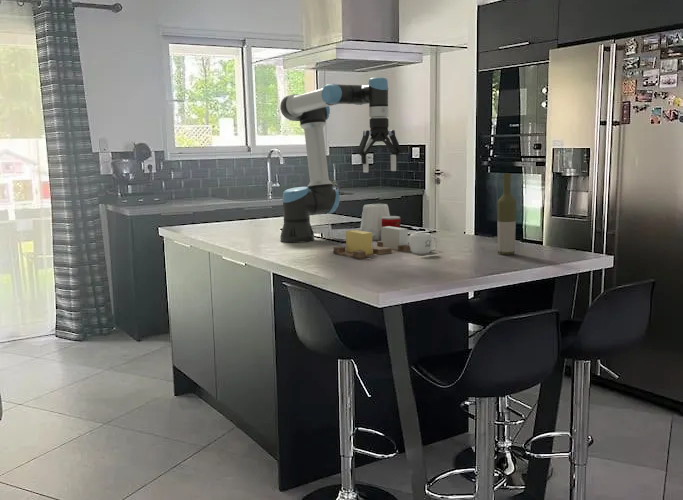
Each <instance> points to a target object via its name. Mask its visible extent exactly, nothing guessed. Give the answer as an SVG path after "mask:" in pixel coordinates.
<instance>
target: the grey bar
mask: <svg viewBox="0 0 683 500" xmlns="http://www.w3.org/2000/svg"><path fill="white" fill-rule="evenodd" d="M408 232H409V231H408V228H403V227H401V228H398V227H392V226H386V227H381V240H380V241H381V242H383V247H389V248H392V249H396V250H398V248H399V249H400V247H398V245H399V246H400V245H409V244H408V243H409V241H408V240H409V237H408Z"/></svg>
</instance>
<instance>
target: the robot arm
mask: <svg viewBox="0 0 683 500" xmlns="http://www.w3.org/2000/svg"><path fill="white" fill-rule="evenodd" d="M368 104H369V105H368ZM335 105H357V106H359V105H360V106H362V105H368V107H369V109H368V112H369V114H368V115H369V118H370V119H369V128H370V130H367V129H366V130H363V135H362V138H361V141H360V143H359V146H358V148H357V150H356V154H357V155H359V156H360V159H361V160H360V161H361V165H362V169H363V170H362V172H363V173H369V172H370V171H369V155H368V153H369V152H370V150H371V148H372V147H373V145H374V144H375V143H377V142H379V143H381V142H383V143H384V144H385V146H386V147H387V148H388V150H389V152H390V153H391V154H390V172H396V171H397V163H398V155H400V153H402V148H401V147H400V144H399V141H398V139H397V136H396V131H395V129H389V125H390V123H389V118H388V117H389V84H388V79H387V78H386V77H371V78H369V79H368V83H367V84H337V83H331V84H330V83H329V84H328V83H327V84H326V85H324V87H322V88H320V89H316V90H313V91H308V92H306V93H302V94H297V93H296V94H295V93H293V94H289V95H286V96H285V97H283V98H282V100H281V102H280V104H279V106H280V107H279V108H280V112H281V114H282V116H283V117H284V118H285V119H287V120H289V121H293V122H299V125H300V127H301V129H303V131H304V138H305V139H304V140H305V147H306V148H305V150H306V156H307V165H308V174H309V183H308V185H307V186H298V187H292V188H288V189H285V190H284V191H283V192H282V212H283V225H282V229H281V233H280V242H284V243H306V242H311V241H314V240H315V233H314V230H313V227H312V224H311V221H310V220H311V217H310V216H317V215H318V216H319V215H329V214H333V213H334V212H335V211H336V210H337V209H338V207H339V204H340V199H341V197H340V193H339V191H338V189H337V188H335V187H334V185H333V182H332V181H331V180H330V178H329V170H328V169H329V168H328V161H327V159H328V158H327V153H326V143H325V136H324V135H325V133H324V127H325V125H326V124H327V120H328V119H329V117H330V114H331V109H330V107H331V106H335ZM369 137H370V138H369Z"/></svg>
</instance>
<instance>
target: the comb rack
mask: <svg viewBox="0 0 683 500" xmlns="http://www.w3.org/2000/svg"><path fill="white" fill-rule="evenodd" d="M376 241H377V243H376V245H372V254H367V255H366V251H361V250H357V251H353V252H348V251H346V246H341V245H339V246H338V245H337V246H333V249H332V250H333V251H332V252H333V254H335V255H340V256H343V257H348V258H352V259H357V260H365V259H371V257H372V256H379V255H386V254H387V255H388V254H392V253H393V254H394V253H401V252H408V251H410V252H411V249H410V245H409V244H408V245H400V246H399V245H398V247H400V249H399V248H398V250H396V249H392V248H389V247H383V242H381V240H376Z"/></svg>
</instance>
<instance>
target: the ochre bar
mask: <svg viewBox="0 0 683 500" xmlns="http://www.w3.org/2000/svg"><path fill="white" fill-rule="evenodd" d="M345 241H346V243H345V245H346V246H345V250H346V251H348V252H353V251H357V250H361V251H366V255H367V254H372V246H373V240H372V233H370V232H364V231H360V230H356V229H351V230H346V231H345Z"/></svg>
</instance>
